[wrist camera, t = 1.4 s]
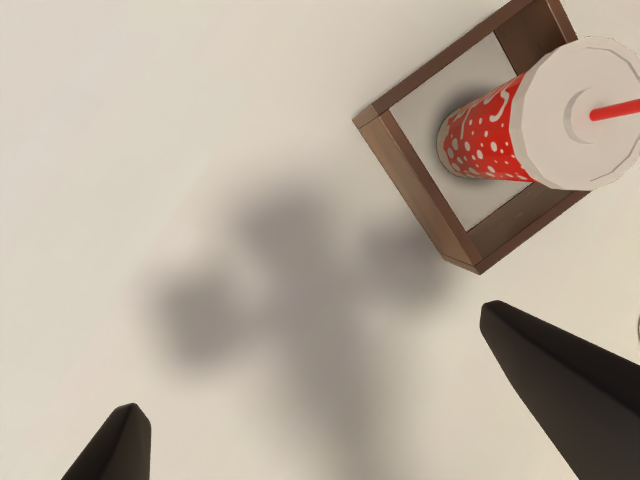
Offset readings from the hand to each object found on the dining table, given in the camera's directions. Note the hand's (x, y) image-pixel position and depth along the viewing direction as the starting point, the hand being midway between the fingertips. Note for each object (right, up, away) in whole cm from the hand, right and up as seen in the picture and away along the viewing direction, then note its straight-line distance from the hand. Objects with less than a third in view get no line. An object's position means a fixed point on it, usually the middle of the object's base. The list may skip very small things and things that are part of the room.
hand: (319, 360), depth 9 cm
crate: (+10, +9, +14) cm, 20 cm away
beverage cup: (+10, +10, +14) cm, 20 cm away
